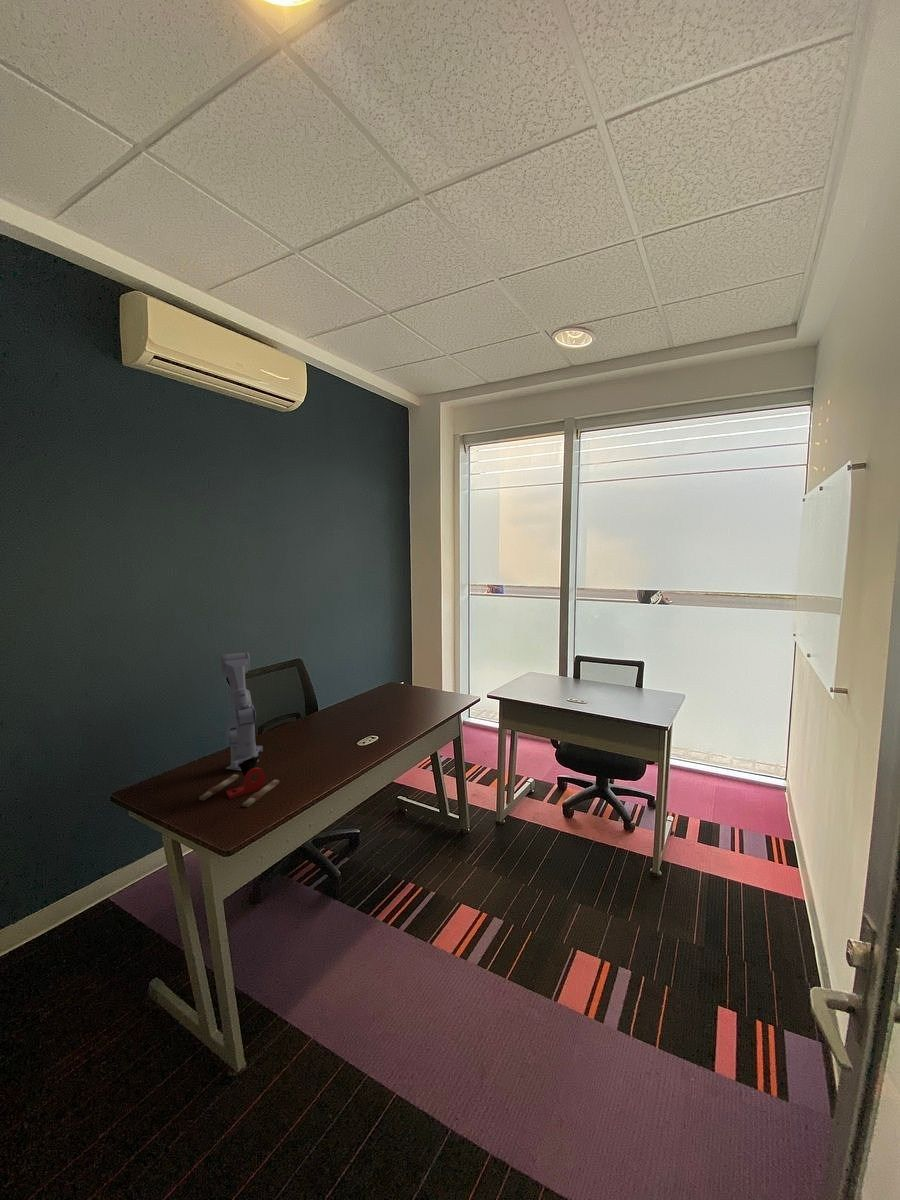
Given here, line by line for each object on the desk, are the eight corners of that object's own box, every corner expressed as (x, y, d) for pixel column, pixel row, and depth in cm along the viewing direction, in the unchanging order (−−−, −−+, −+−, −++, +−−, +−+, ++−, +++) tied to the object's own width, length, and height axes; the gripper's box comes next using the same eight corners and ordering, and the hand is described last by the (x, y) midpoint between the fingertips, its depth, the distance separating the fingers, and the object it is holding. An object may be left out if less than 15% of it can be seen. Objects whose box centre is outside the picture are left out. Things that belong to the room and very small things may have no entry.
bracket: (261, 783, 174) (260, 761, 173) (265, 787, 171) (264, 766, 170) (225, 794, 166) (224, 771, 166) (229, 799, 163) (228, 776, 162)
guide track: (233, 776, 179) (233, 773, 179) (279, 782, 174) (279, 779, 174) (198, 799, 163) (198, 796, 162) (248, 807, 157) (248, 803, 157)
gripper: (242, 750, 163) (244, 789, 164) (269, 735, 177) (270, 770, 178) (224, 748, 164) (226, 787, 166) (252, 733, 178) (254, 768, 180)
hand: (248, 778), depth 172 cm, fingers closed
